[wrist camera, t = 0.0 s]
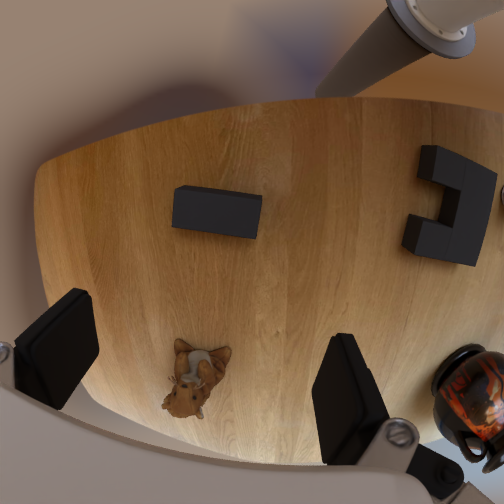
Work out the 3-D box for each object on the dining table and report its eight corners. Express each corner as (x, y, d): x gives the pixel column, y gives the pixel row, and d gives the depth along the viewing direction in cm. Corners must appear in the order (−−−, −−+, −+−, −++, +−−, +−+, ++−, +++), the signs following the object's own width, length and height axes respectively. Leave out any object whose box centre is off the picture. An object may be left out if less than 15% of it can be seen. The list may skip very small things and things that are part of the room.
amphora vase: (499, 321, 45) (567, 393, 18) (476, 385, 52) (520, 456, 25) (429, 347, 47) (494, 449, 20) (411, 411, 54) (448, 500, 27)
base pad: (421, 145, 35) (437, 145, 31) (481, 170, 35) (497, 173, 31) (400, 245, 40) (413, 254, 36) (461, 257, 41) (475, 267, 36)
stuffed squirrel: (234, 343, 47) (225, 400, 35) (219, 395, 52) (209, 448, 39) (177, 329, 47) (153, 381, 34) (170, 382, 51) (152, 432, 39)
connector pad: (184, 185, 39) (174, 188, 34) (262, 195, 39) (262, 200, 35) (180, 219, 40) (171, 227, 36) (256, 230, 40) (255, 239, 36)
